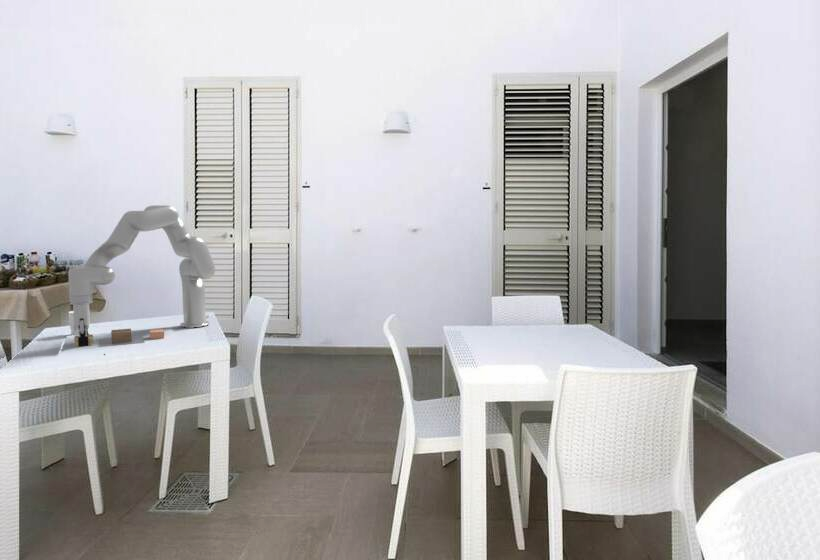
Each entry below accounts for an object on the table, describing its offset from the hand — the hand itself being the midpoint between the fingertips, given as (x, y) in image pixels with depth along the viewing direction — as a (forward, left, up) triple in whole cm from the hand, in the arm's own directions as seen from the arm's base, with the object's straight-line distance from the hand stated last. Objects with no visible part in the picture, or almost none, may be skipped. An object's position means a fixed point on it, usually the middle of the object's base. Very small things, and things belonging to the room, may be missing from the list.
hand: (84, 344), depth 220 cm
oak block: (0, 0, -1) cm, 1 cm away
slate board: (-8, +11, -1) cm, 13 cm away
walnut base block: (-8, +11, 0) cm, 13 cm away
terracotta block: (-15, +21, -1) cm, 26 cm away
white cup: (-20, -17, -1) cm, 26 cm away
